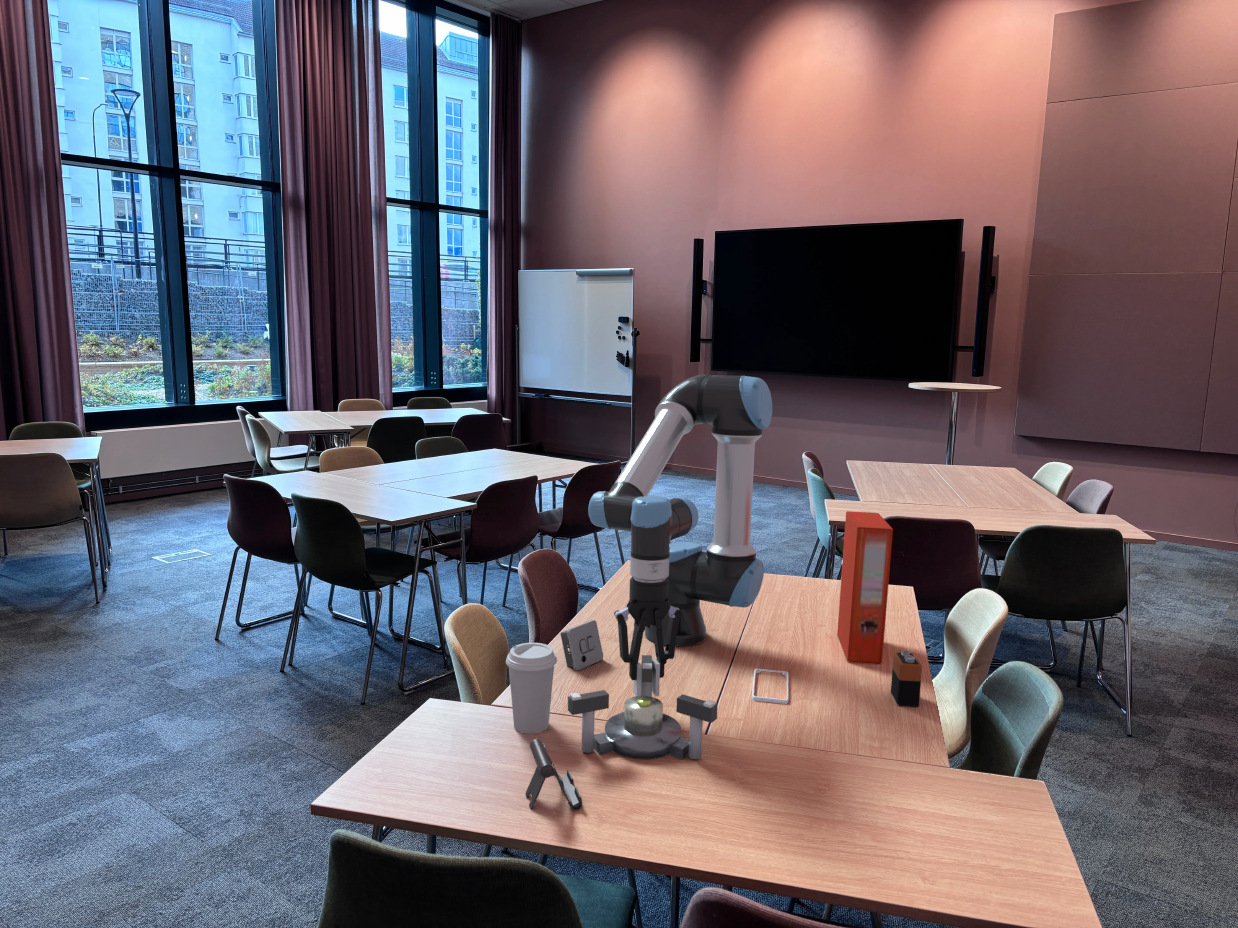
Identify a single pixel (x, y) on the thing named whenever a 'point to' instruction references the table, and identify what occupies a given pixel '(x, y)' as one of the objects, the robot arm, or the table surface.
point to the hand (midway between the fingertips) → (646, 693)
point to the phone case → (765, 699)
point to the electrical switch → (582, 645)
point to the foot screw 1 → (588, 713)
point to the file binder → (864, 587)
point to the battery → (906, 679)
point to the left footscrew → (696, 720)
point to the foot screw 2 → (646, 676)
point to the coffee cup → (531, 685)
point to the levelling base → (642, 743)
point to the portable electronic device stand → (548, 770)
